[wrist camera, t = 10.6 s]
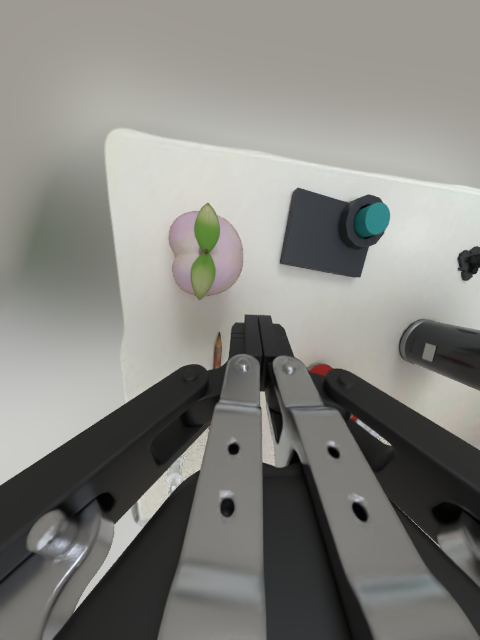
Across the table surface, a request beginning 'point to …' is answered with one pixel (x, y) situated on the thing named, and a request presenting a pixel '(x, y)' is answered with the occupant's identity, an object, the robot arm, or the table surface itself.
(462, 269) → the dark flat lumpy piece
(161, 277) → the table surface
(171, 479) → the chess piece
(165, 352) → the table surface
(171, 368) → the table surface
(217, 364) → the pencil
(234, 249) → the decorative fruit
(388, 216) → the button
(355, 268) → the push button panel
